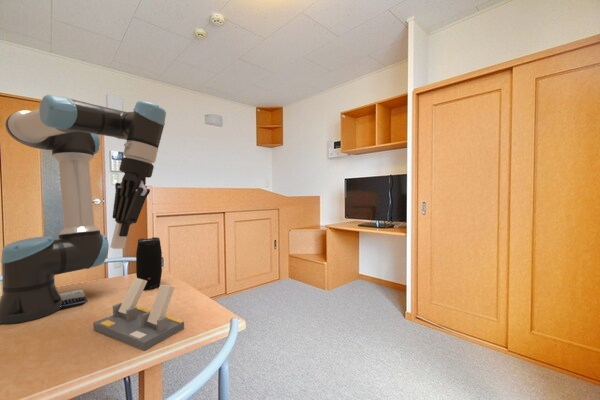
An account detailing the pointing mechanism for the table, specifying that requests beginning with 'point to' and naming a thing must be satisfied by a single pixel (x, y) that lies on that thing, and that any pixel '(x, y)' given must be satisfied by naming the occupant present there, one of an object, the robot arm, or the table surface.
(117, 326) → the switch unit
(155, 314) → the paddle
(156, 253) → the portable speaker
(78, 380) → the table surface
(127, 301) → the paddle
